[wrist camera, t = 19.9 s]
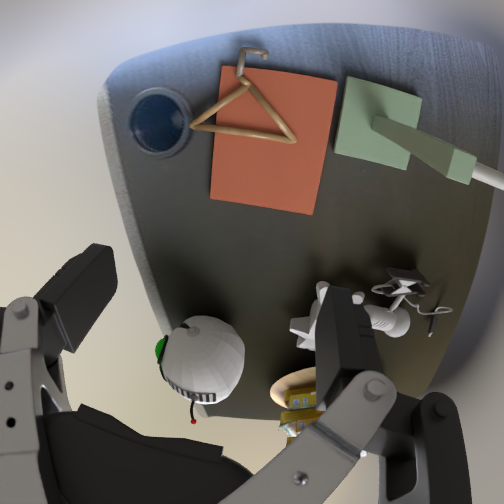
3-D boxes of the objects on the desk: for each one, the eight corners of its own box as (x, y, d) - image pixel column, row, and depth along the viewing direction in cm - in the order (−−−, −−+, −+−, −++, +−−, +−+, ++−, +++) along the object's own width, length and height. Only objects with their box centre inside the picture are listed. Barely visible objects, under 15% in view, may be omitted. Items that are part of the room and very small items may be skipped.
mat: (223, 65, 32) (222, 65, 31) (337, 81, 31) (338, 81, 31) (211, 196, 41) (209, 198, 41) (312, 212, 41) (312, 215, 40)
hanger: (187, 129, 35) (198, 43, 29) (190, 128, 36) (200, 44, 30) (296, 145, 35) (312, 56, 29) (296, 144, 35) (312, 57, 30)
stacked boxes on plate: (377, 405, 63) (383, 464, 49) (279, 414, 68) (273, 472, 54) (389, 342, 51) (406, 416, 37) (262, 354, 57) (251, 429, 42)
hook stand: (346, 76, 31) (410, 64, 12) (471, 119, 30) (581, 165, 12) (332, 150, 36) (374, 221, 18) (455, 184, 35) (545, 266, 17)
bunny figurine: (280, 350, 50) (314, 292, 40) (283, 327, 54) (314, 268, 44) (330, 361, 50) (373, 308, 41) (330, 339, 54) (369, 284, 45)
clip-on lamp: (449, 281, 46) (385, 255, 41) (468, 303, 41) (406, 280, 36) (413, 329, 52) (345, 315, 46) (428, 352, 46) (359, 343, 41)
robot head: (169, 286, 51) (121, 377, 34) (252, 298, 50) (231, 402, 32) (178, 348, 59) (146, 430, 42) (247, 360, 58) (230, 449, 41)
